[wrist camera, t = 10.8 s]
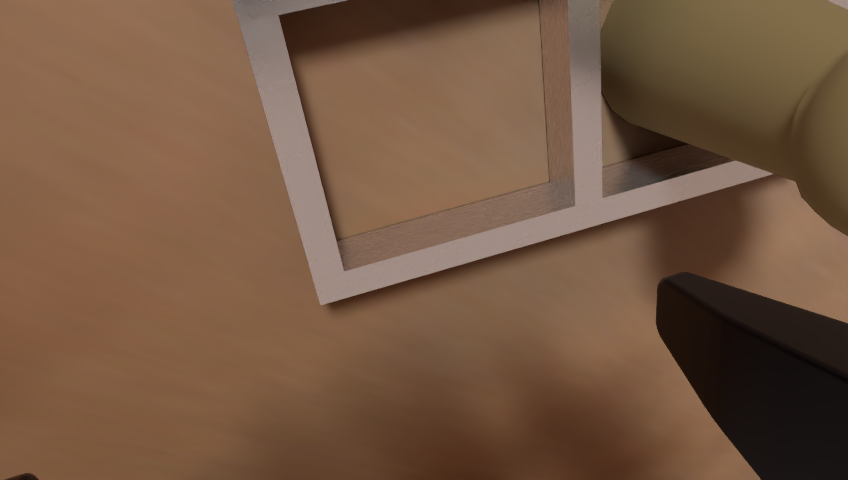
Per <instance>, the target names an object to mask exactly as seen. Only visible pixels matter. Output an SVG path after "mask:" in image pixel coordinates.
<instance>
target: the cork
mask: <svg viewBox="0 0 848 480" xmlns="http://www.w3.org/2000/svg"><path fill="white" fill-rule="evenodd" d="M600 52H601V91H602V93H603V95H604V97H605V99H606V100H607V102H608V104H609V106H610V108H611V109H612V110H613V111H614V112H616V113H617V114H618V115H619V116H621V117H622V118H623V119H624V120H626V121H627V122H628V123H631V124H634V125H637V126H639V127H642V128H645V129H648V130H651V131H654V132H657V133H659V134H662V135H665V136H668V137H671V138H674V139H676V140H679V141H682V142H685V143H688V144H691V145H693V146H696V147H699V148H702V149H705V150H708V151H710V152H713V153H716V154H719V155H722V156H725V157H727V158H730V159H733V160H736V161H739V162H742V163H744V164H747V165H750V166H753V167H756V168H759V169H761V170H764V171H767V172H770V173H773V174H776V175H778V176H781V177H784V178H787V179H790V180H793V181H795V182H796V184H797V187H798V189H799V192H800V194H801V197H802V198H803V199H804V200H805V201H806V202H807V203H808V205H809V206H810V207H811V208H812V209H813V210H814V211H815V212H816V213H817V214H818V215H819V216H820V217H822V218H823V219H824V220H825V221H826V222H827V223H828V224H830V225H831V226H832V227H834V228H835V229H837V230H839V231H840V232H842V233H843V234H845V235H847V236H848V9H846V8H843V7H841V6H839V5H836V4H834V3H832V2H829V1H827V0H615V2H614V3H613V4H612V6H611V8H610V11H609V13H608V16H607V18H606V20H605V23H604V25H603V28H602V30H601V33H600Z"/></svg>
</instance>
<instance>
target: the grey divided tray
mask: <svg viewBox="0 0 848 480" xmlns="http://www.w3.org/2000/svg"><path fill="white" fill-rule="evenodd" d="M341 1H346V0H233V3H234V7H235V10H236V14H237V17H238V21H239V24H240V27H241V31H242V34H243V38H244V41H245V45H246V48H247V52H248V55H249V59H250V62H251V66H252V69H253V73H254V76H255V80H256V83H257V86H258V90H259V93H260V97H261V100H262V104H263V107H264V111H265V114H266V118H267V121H268V125H269V128H270V132H271V135H272V139H273V142H274V145H275V149H276V152H277V156H278V159H279V163H280V166H281V170H282V173H283V177H284V180H285V184H286V187H287V191H288V194H289V198H290V201H291V205H292V208H293V211H294V215H295V218H296V222H297V225H298V229H299V232H300V236H301V239H302V243H303V246H304V250H305V253H306V257H307V260H308V264H309V267H310V270H311V274H312V277H313V281H314V284H315V288H316V291H317V295H318V298H319V302H320V305H324V304H327V303H331V302H334V301H338V300H341V299H345V298H348V297H351V296H355V295H358V294H362V293H365V292H369V291H372V290H376V289H379V288H382V287H386V286H389V285H393V284H396V283H400V282H403V281H407V280H410V279H413V278H417V277H420V276H424V275H427V274H431V273H434V272H438V271H441V270H444V269H448V268H451V267H455V266H458V265H462V264H465V263H469V262H472V261H476V260H479V259H482V258H486V257H489V256H493V255H496V254H500V253H503V252H507V251H510V250H513V249H517V248H520V247H524V246H527V245H531V244H534V243H538V242H541V241H544V240H548V239H551V238H555V237H558V236H562V235H565V234H569V233H572V232H575V231H579V230H582V229H586V228H589V227H593V226H596V225H600V224H603V223H606V222H610V221H613V220H617V219H620V218H624V217H627V216H631V215H634V214H638V213H641V212H644V211H648V210H651V209H655V208H658V207H662V206H665V205H669V204H672V203H675V202H679V201H682V200H686V199H689V198H693V197H696V196H700V195H703V194H706V193H710V192H713V191H717V190H720V189H724V188H727V187H731V186H734V185H737V184H741V183H744V182H748V181H751V180H755V179H758V178H762V177H765V176H769V175H772V174H773V173H770V172H767V171H764V170H761V169H759V168H756V167H753V166H750V165H747V164H744V163H742V162H739V161H736V160H733V159H730V158H727V157H725V156H722V155H719V154H716V153H713V152H710V151H708V150H705V149H702V148H699V147H696V146H693V145H691V144H687V145H683V146H679V147H676V148H672V149H668V150H665V151H661V152H657V153H654V154H650V155H647V156H643V157H639V158H636V159H632V160H628V161H625V162H621V163H618V164H614V165H610V166H607V167H603V168H602V127H601V52H600V0H539V8H540V25H541V42H542V59H543V76H544V93H545V110H546V127H547V144H548V161H549V178H550V182H549V183H545V184H541V185H538V186H534V187H530V188H527V189H523V190H520V191H516V192H512V193H509V194H505V195H501V196H498V197H494V198H491V199H487V200H483V201H480V202H476V203H472V204H469V205H465V206H461V207H458V208H454V209H451V210H447V211H443V212H440V213H436V214H432V215H429V216H425V217H422V218H418V219H414V220H411V221H407V222H403V223H400V224H396V225H392V226H389V227H385V228H382V229H378V230H374V231H371V232H367V233H363V234H360V235H356V236H353V237H349V238H345V239H342V240H338V241H336V238H335V234H334V230H333V226H332V222H331V218H330V214H329V210H328V207H327V203H326V199H325V195H324V191H323V187H322V183H321V179H320V175H319V171H318V168H317V164H316V160H315V156H314V152H313V148H312V144H311V140H310V136H309V133H308V129H307V125H306V121H305V117H304V113H303V109H302V105H301V101H300V97H299V94H298V90H297V86H296V82H295V78H294V74H293V70H292V66H291V62H290V59H289V55H288V51H287V47H286V43H285V39H284V35H283V31H282V27H281V23H280V20H279V16H278V15H282V14H286V13H291V12H295V11H300V10H305V9H309V8H314V7H318V6H323V5H328V4H332V3H337V2H341ZM827 1H829V2H832V3H834V4H836V5H839V6H841V7H843V8H846V9H848V0H827Z"/></svg>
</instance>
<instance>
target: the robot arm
mask: <svg viewBox="0 0 848 480" xmlns="http://www.w3.org/2000/svg"><path fill="white" fill-rule="evenodd" d="M656 325H657V329H658V332H659V335H660V337H661V338H662V340H663V342H664V343H665V345H666V346H667V348H668V350H669V351H670V353H671V354H672V356H673V357H674V359H675V361H676V362H677V364H678V365H679V367H680V368H681V370H682V372H683V373H684V375H685V376H686V378H687V379H688V381H689V383H690V384H691V386H692V387H693V389H694V390H695V392H696V394H697V395H698V397H699V398H700V400H701V401H702V403H703V405H704V406H705V408H706V409H707V411H708V412H709V413H710V415H711V416H712V418H713V419H714V420H715V422H716V423H717V424H718V426H719V427H720V428H721V430H722V431H723V432H724V433H725V435H726V436H727V437H728V439H729V440H730V441H731V442H732V444H733V445H734V446H735V447H736V449H737V450H738V451H739V452H740V454H741V455H742V456H743V457H744V459H745V460H746V461H747V462H748V464H749V465H750V466H751V467H752V469H753V470H754V471H755V472H756V474H757V475H758V476H759V477H760V479H761V480H848V323H845V322H842V321H839V320H836V319H833V318H830V317H826V316H823V315H820V314H817V313H814V312H811V311H808V310H804V309H801V308H798V307H795V306H792V305H789V304H786V303H783V302H779V301H776V300H773V299H770V298H767V297H764V296H761V295H757V294H754V293H751V292H748V291H745V290H742V289H739V288H735V287H732V286H729V285H726V284H723V283H720V282H717V281H714V280H710V279H707V278H704V277H701V276H698V275H695V274H692V273H688V272H682V273H678V274H675V275H671V276H668V277H665V278H663V279H661V280H660V281H659V283H658V287H657V306H656ZM5 480H39V479H38V478H37V477H36V476H35V475H33V474H31V473H24V474H21V475H18V476H14V477H11V478H8V479H5Z"/></svg>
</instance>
